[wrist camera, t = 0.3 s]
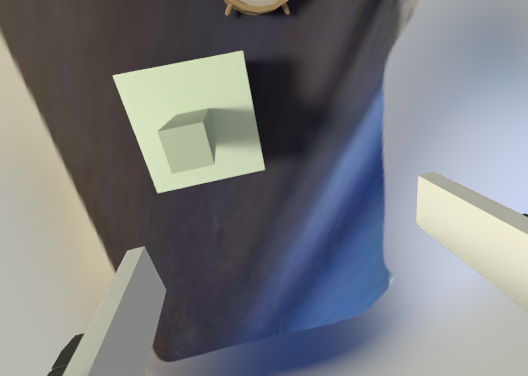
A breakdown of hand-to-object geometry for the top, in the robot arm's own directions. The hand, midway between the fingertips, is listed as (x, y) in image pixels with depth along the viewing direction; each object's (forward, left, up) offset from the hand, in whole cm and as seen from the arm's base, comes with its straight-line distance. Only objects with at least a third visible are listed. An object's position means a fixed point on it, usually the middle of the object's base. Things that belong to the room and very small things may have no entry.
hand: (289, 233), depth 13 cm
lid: (-3, -5, -21) cm, 22 cm away
